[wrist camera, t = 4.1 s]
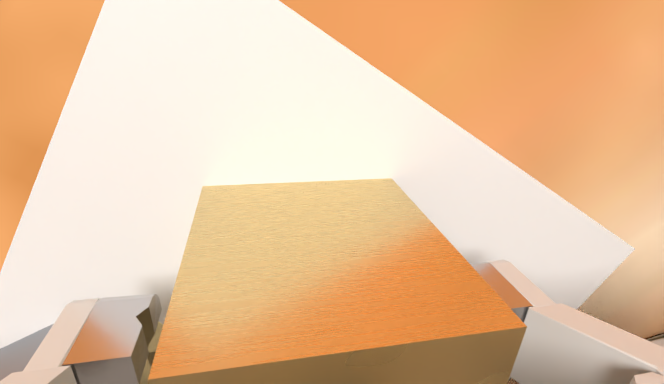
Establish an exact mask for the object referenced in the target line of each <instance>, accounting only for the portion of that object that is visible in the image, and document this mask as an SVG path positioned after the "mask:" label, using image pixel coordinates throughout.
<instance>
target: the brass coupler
mask: <svg viewBox="0 0 664 384" xmlns="http://www.w3.org/2000/svg"><path fill="white" fill-rule="evenodd" d="M526 329H527V326H526V325H525V324H524V323H523V322H522V320H521V319H520V318H519V317H518V316H517V315H516V314H515V313H514V312H513V311H512V310H511V308H510V307H509V306H508V305H507V304H506V303H505V302H504V301H503V300H502V299H501V297H500V296H499V295H498V294H497V293H496V292H495V291H494V290H493V289H492V288H491V287H490V285H489V284H488V283H487V282H486V281H485V280H484V279H483V278H482V277H481V276H480V275H479V273H478V272H477V271H476V270H475V269H474V268H473V267H472V266H471V265H470V264H469V262H468V261H467V260H466V259H465V258H464V257H463V256H462V255H461V254H460V253H459V252H458V250H457V249H456V248H455V247H454V246H453V245H452V244H451V243H450V242H449V241H448V239H447V238H446V237H445V236H444V235H443V234H442V233H441V232H440V231H439V230H438V229H437V227H436V226H435V225H434V224H433V223H432V222H431V221H430V220H429V219H428V218H427V217H426V215H425V214H424V213H423V212H422V211H421V210H420V209H419V208H418V207H417V206H416V204H415V203H414V202H413V201H412V200H411V199H410V198H409V197H408V196H407V195H406V194H405V192H404V191H403V190H402V189H401V188H400V187H399V186H398V185H397V184H396V183H395V181H394V180H393V179H392V178H385V179H361V180H337V181H313V182H289V183H265V184H241V185H217V186H202V190H201V194H200V197H199V201H198V204H197V208H196V211H195V215H194V218H193V222H192V225H191V229H190V232H189V236H188V240H187V243H186V247H185V250H184V254H183V257H182V261H181V264H180V268H179V271H178V275H177V278H176V282H175V286H174V289H173V293H172V296H171V300H170V303H169V307H168V310H167V314H166V317H165V321H164V324H163V328H162V331H161V335H160V339H159V342H158V346H157V349H156V353H155V356H154V360H153V363H152V367H151V370H150V374H149V377H148V382H149V384H507V383H508V380H509V377H510V374H511V372H512V369H513V366H514V363H515V360H516V357H517V354H518V352H519V349H520V346H521V343H522V340H523V337H524V334H525V332H526Z"/></svg>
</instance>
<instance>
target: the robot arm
mask: <svg viewBox="0 0 664 384" xmlns="http://www.w3.org/2000/svg"><path fill="white" fill-rule="evenodd" d="M470 265H471V266H472V267H473V268H474V269H475V270H476V271H477V272H478V273H479V275H480V276H481V277H482V278H483V279H484V280H485V281H486V282H487V283H488V284H489V285H490V287H491V288H492V289H493V290H494V291H495V292H496V293H497V294H498V295H499V296H500V297H501V299H502V300H503V301H504V302H505V303H506V304H507V305H508V306H509V307H510V308H511V310H512V311H513V312H514V313H515V314H516V315H517V316H518V317H519V318H520V319H521V320H522V322H523V323H524V324H525V325H526V326H527V329H526V332H525V334H524V337H523V340H522V343H521V346H520V349H519V352H518V354H517V357H516V360H515V363H514V366H513V369H512V372H511V374H510V377H511V378H512V379H514V380H515V381H516V382H518V383H519V384H664V347H662V346H659V345H657V344H655V343H652V342H650V341H648V340H645V339H643V338H641V337H639V336H636V335H634V334H632V333H629V332H627V331H625V330H622V329H620V328H618V327H616V326H613V325H611V324H609V323H606V322H604V321H602V320H599V319H597V318H595V317H593V316H590V315H588V314H586V313H583V312H581V311H579V310H576V309H574V308H572V307H570V306H567V305H565V304H563V303H560V304H556V303H554V302H553V301H552V300H551V299H550V298H549V297H548V296H547V295H546V294H545V293H543V292H542V291H541V290H540V289H539V288H538V287H537V286H536V285H535V284H534V283H533V282H531V281H530V280H529V279H528V278H527V277H526V276H525V275H524V274H523V273H522V272H520V271H519V270H518V269H517V268H516V267H515V266H514V265H513V264H512V263H511V262H509V261H506V260H495V261H487V262H484V263H474V264H470ZM161 311H162V308H161V303H160V299H159V296H158V295H156V294H146V295H132V296H119V297H106V298H101V299H100V298H96V299H84V300H73V301H72V302H70V303H68V304H67V305H66V306H65V307H64V309H63V310H62V312H61V313H60V315H59V317H58V318H57V320H56V321H55V323H54V324H53V326H52V327H51V329H50V330H49V332H48V333H47V335H46V336H45V338H44V339H43V341H42V342H41V344H40V346H39V347H38V349H37V350H36V352H35V353H34V355H33V356H32V358H31V359H30V361H29V362H28V364H27V365H26V367H25V368H24V370H23V371H22V372H14V373H11V374H10V375H8V376H7V377H5V378H4V379H2V380H1V381H0V384H149V382H148V377H149V374H150V370H151V367H152V363H153V360H154V356H155V353H156V349H157V346H158V342H159V339H160V335H161V331H162V328H163V324H162V323H160V322H159V318H160V314H161Z"/></svg>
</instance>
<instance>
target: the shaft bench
mask: <svg viewBox="0 0 664 384" xmlns="http://www.w3.org/2000/svg"><path fill="white" fill-rule="evenodd" d="M385 178H392V179H393V180H394V181H395V183H396V184H397V185H398V186H399V187H400V188H401V189H402V190H403V191H404V192H405V194H406V195H407V196H408V197H409V198H410V199H411V200H412V201H413V202H414V203H415V204H416V206H417V207H418V208H419V209H420V210H421V211H422V212H423V213H424V214H425V215H426V217H427V218H428V219H429V220H430V221H431V222H432V223H433V224H434V225H435V226H436V227H437V229H438V230H439V231H440V232H441V233H442V234H443V235H444V236H445V237H446V238H447V239H448V241H449V242H450V243H451V244H452V245H453V246H454V247H455V248H456V249H457V250H458V252H459V253H460V254H461V255H462V256H463V257H464V258H465V259H466V260H467V261H468V262H469V264H474V263H484V262H487V261H495V260H506V261H509V262H511V263H512V264H513V265H514V266H515V267H516V268H517V269H518V270H519V271H520V272H522V273H523V274H524V275H525V276H526V277H527V278H528V279H529V280H530V281H531V282H533V283H534V284H535V285H536V286H537V287H538V288H539V289H540V290H541V291H542V292H543V293H545V294H546V295H547V296H548V297H549V298H550V299H551V300H552V301H553V302H554V303H556V304H560V303H563V304H565V305H567V306H570V307H572V308H574V309H576V310H577V309H578V308H579V307H580V306H581V305H582V304H583V303H584V302H585V301H586V299H587V298H588V297H589V296H590V295H591V294H592V293H593V292H594V291H595V290H596V289H597V288H598V287H599V286H600V285H601V284H602V283H603V282H604V281H605V280H606V279H607V278H608V277H609V276H610V275H611V273H612V272H613V271H614V270H615V269H616V268H617V267H618V266H619V265H620V264H621V263H622V262H623V261H624V260H625V259H626V258H627V257H628V256H629V255H630V254H631V253H632V252H633V251H634V250H635V248H633V247H632V246H630V245H629V244H627V243H626V242H625V241H623V240H622V239H620V238H619V237H617V236H616V235H614V234H613V233H612V232H610V231H609V230H607V229H606V228H604V227H603V226H602V225H600V224H599V223H597V222H596V221H594V220H593V219H592V218H590V217H589V216H587V215H586V214H584V213H583V212H581V211H580V210H579V209H577V208H576V207H574V206H573V205H571V204H570V203H569V202H567V201H566V200H564V199H563V198H561V197H560V196H559V195H557V194H556V193H554V192H553V191H551V190H550V189H548V188H547V187H546V186H544V185H543V184H541V183H540V182H538V181H537V180H536V179H534V178H533V177H531V176H530V175H528V174H527V173H526V172H524V171H523V170H521V169H520V168H518V167H517V166H515V165H514V164H513V163H511V162H510V161H508V160H507V159H505V158H504V157H503V156H501V155H500V154H498V153H497V152H495V151H494V150H492V149H491V148H490V147H488V146H487V145H485V144H484V143H482V142H481V141H480V140H478V139H477V138H475V137H474V136H472V135H471V134H470V133H468V132H467V131H465V130H464V129H462V128H461V127H459V126H458V125H457V124H455V123H454V122H452V121H451V120H449V119H448V118H447V117H445V116H444V115H442V114H441V113H439V112H438V111H437V110H435V109H434V108H432V107H431V106H429V105H428V104H426V103H425V102H424V101H422V100H421V99H419V98H418V97H416V96H415V95H414V94H412V93H411V92H409V91H408V90H406V89H405V88H404V87H402V86H401V85H399V84H398V83H396V82H395V81H393V80H392V79H391V78H389V77H388V76H386V75H385V74H383V73H382V72H381V71H379V70H378V69H376V68H375V67H373V66H372V65H370V64H369V63H368V62H366V61H365V60H363V59H362V58H360V57H359V56H358V55H356V54H355V53H353V52H352V51H350V50H349V49H348V48H346V47H345V46H343V45H342V44H340V43H339V42H337V41H336V40H335V39H333V38H332V37H330V36H329V35H327V34H326V33H325V32H323V31H322V30H320V29H319V28H317V27H316V26H315V25H313V24H312V23H310V22H309V21H307V20H306V19H304V18H303V17H302V16H300V15H299V14H297V13H296V12H294V11H293V10H292V9H290V8H289V7H287V6H286V5H284V4H283V3H282V2H280V1H279V0H105V2H104V4H103V7H102V9H101V12H100V15H99V17H98V20H97V22H96V25H95V28H94V30H93V33H92V35H91V38H90V41H89V43H88V46H87V48H86V51H85V54H84V56H83V59H82V61H81V64H80V67H79V69H78V72H77V74H76V77H75V80H74V82H73V85H72V87H71V90H70V93H69V95H68V98H67V100H66V103H65V106H64V108H63V111H62V113H61V116H60V119H59V121H58V124H57V126H56V129H55V132H54V134H53V137H52V139H51V142H50V145H49V147H48V150H47V152H46V155H45V158H44V160H43V163H42V165H41V168H40V171H39V173H38V176H37V178H36V181H35V184H34V186H33V189H32V191H31V194H30V197H29V199H28V202H27V204H26V207H25V210H24V212H23V215H22V217H21V220H20V223H19V225H18V228H17V230H16V233H15V236H14V238H13V241H12V243H11V246H10V249H9V251H8V254H7V256H6V259H5V262H4V264H3V267H2V269H1V272H0V381H1V380H2V379H4V378H5V377H7V376H8V375H10V374H11V373H14V372H22V371H23V370H24V368H25V367H26V365H27V364H28V362H29V361H30V359H31V358H32V356H33V355H34V353H35V352H36V350H37V349H38V347H39V346H40V344H41V342H42V341H43V339H44V338H45V336H46V335H47V333H48V332H49V330H50V329H51V327H52V326H53V324H54V323H55V321H56V320H57V318H58V317H59V315H60V313H61V312H62V310H63V309H64V307H65V306H66V305H67V304H68V303H70V302H72V301H73V300H84V299H96V298H100V299H101V298H106V297H119V296H132V295H146V294H156V295H158V296H159V299H160V303H161V308H162V311H161V314H160V318H159V322H160V323H162V324H164V321H165V317H166V314H167V310H168V307H169V303H170V300H171V296H172V293H173V289H174V286H175V282H176V278H177V275H178V271H179V268H180V264H181V261H182V257H183V254H184V250H185V247H186V243H187V240H188V236H189V232H190V229H191V225H192V222H193V218H194V215H195V211H196V208H197V204H198V201H199V197H200V194H201V190H202V186H217V185H241V184H265V183H289V182H313V181H337V180H361V179H385ZM510 379H511V377H509V380H510ZM509 380H508V381H509Z"/></svg>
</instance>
